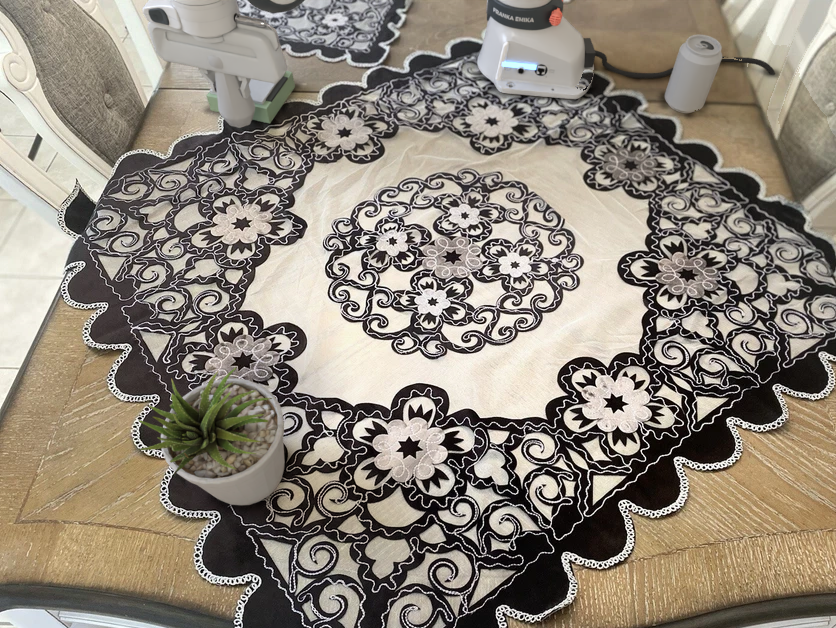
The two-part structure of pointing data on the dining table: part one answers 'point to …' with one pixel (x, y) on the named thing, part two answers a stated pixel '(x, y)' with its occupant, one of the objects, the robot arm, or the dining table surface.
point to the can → (693, 73)
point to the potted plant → (225, 439)
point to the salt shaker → (231, 97)
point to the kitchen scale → (263, 97)
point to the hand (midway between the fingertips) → (231, 93)
